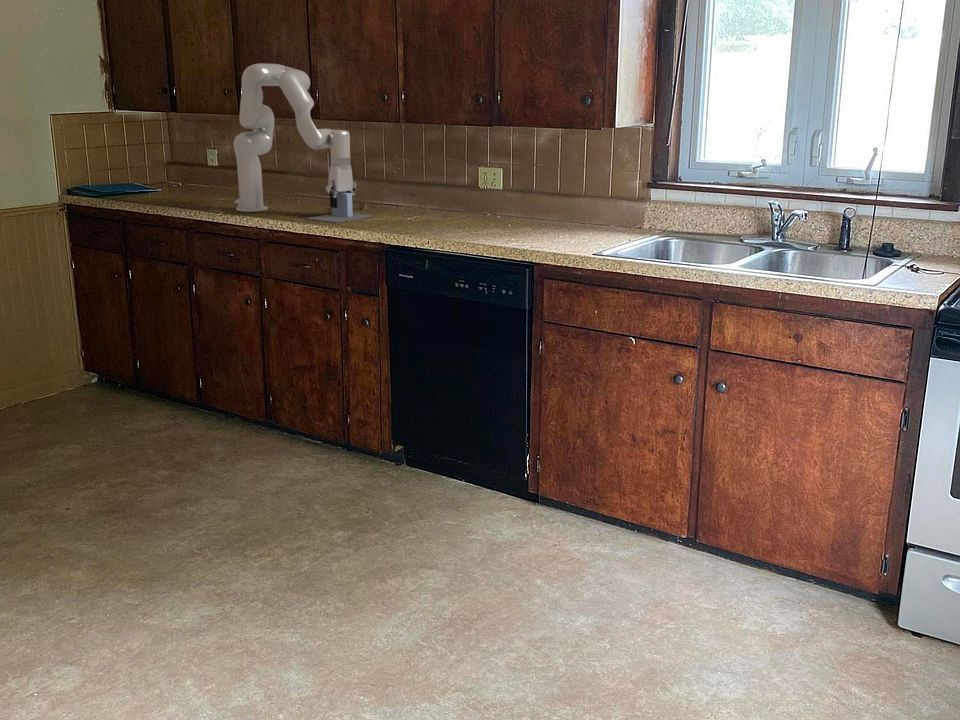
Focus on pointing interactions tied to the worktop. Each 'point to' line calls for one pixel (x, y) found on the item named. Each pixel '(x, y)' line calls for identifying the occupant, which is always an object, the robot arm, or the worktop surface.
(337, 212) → the slab
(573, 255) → the worktop surface
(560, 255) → the worktop surface
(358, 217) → the mat
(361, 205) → the wooden block set
